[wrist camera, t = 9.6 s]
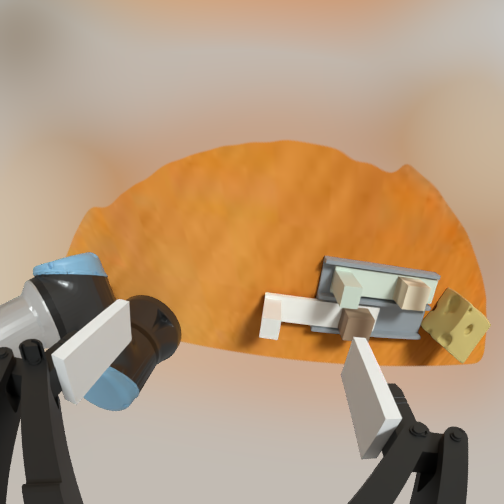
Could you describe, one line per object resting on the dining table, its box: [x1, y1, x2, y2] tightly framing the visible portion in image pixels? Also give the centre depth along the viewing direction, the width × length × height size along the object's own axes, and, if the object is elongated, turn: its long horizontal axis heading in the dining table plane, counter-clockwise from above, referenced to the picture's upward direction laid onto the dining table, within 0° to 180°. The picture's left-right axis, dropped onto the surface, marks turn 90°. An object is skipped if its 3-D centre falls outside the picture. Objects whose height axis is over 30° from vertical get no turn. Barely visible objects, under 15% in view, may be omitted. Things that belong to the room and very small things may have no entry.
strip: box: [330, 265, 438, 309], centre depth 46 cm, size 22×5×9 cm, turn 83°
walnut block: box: [338, 308, 375, 342], centre depth 49 cm, size 5×4×5 cm
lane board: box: [310, 256, 441, 340], centre depth 51 cm, size 24×14×3 cm, turn 83°
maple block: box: [393, 276, 431, 311], centre depth 47 cm, size 5×4×5 cm
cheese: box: [421, 287, 491, 363], centre depth 47 cm, size 10×11×10 cm
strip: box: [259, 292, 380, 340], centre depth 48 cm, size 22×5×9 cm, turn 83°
